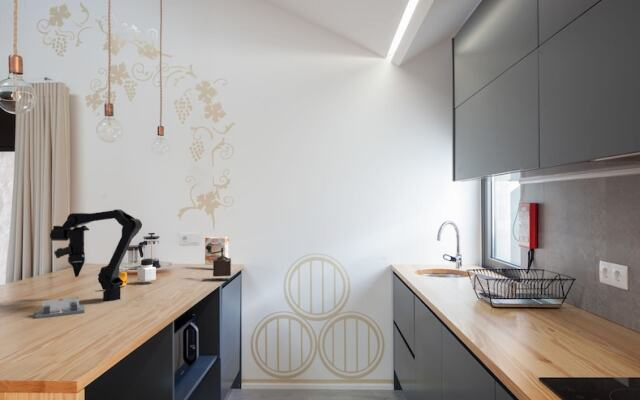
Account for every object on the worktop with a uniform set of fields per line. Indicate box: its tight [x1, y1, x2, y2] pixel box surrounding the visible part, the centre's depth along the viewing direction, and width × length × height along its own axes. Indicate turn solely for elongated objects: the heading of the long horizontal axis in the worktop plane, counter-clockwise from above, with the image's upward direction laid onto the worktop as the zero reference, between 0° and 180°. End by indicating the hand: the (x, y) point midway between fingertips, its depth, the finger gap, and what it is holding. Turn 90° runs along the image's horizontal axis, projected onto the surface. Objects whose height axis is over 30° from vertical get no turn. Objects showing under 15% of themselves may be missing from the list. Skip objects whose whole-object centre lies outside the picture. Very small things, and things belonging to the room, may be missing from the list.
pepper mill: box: [206, 245, 232, 278], centre depth 240 cm, size 16×11×18 cm
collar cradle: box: [34, 304, 85, 320], centre depth 157 cm, size 16×10×4 cm, turn 121°
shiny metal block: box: [41, 296, 80, 312], centre depth 157 cm, size 12×4×4 cm, turn 127°
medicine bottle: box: [137, 258, 157, 283], centre depth 224 cm, size 7×7×12 cm
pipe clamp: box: [118, 271, 128, 288], centre depth 208 cm, size 12×4×6 cm, turn 176°
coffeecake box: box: [204, 236, 230, 266], centre depth 280 cm, size 15×7×20 cm, turn 81°
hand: (76, 275), depth 179 cm, fingers open, 9 cm apart
